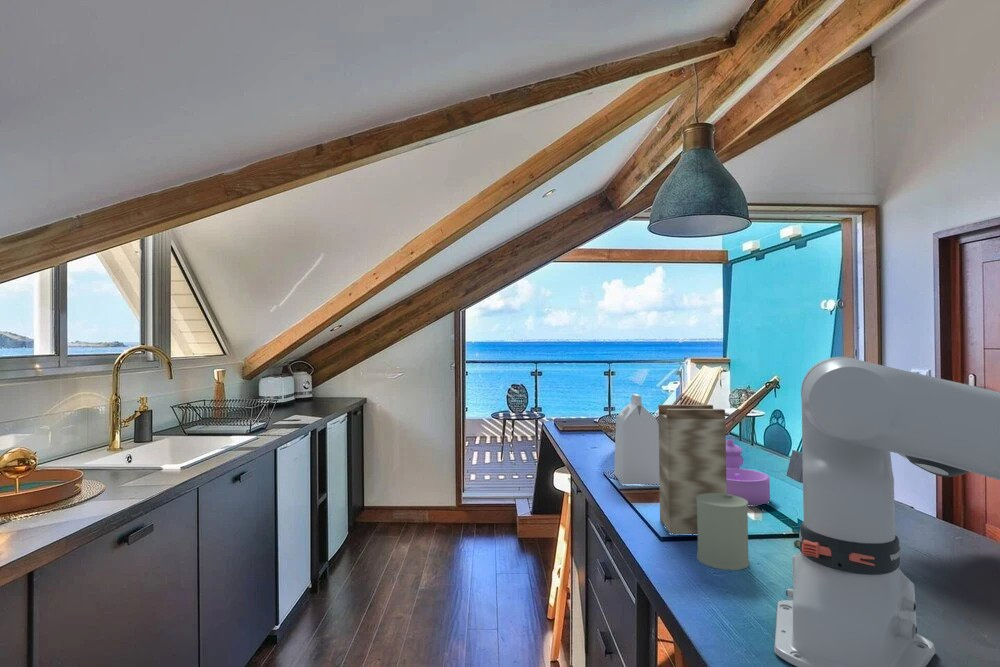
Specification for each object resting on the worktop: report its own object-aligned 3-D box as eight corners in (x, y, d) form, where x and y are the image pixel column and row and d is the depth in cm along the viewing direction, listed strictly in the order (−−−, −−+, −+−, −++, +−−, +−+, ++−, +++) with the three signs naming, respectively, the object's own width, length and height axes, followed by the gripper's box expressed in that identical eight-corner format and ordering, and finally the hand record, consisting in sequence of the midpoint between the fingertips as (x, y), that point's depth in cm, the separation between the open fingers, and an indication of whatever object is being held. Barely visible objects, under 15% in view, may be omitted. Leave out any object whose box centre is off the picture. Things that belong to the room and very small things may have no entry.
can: (756, 559, 101) (755, 496, 101) (739, 575, 94) (738, 507, 95) (708, 547, 107) (707, 487, 108) (688, 561, 101) (688, 497, 101)
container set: (776, 508, 133) (775, 456, 133) (710, 504, 137) (710, 453, 137) (756, 483, 157) (755, 438, 157) (701, 480, 161) (700, 436, 161)
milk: (662, 486, 154) (661, 396, 155) (622, 486, 155) (621, 396, 155) (651, 476, 166) (650, 393, 167) (614, 476, 167) (613, 393, 167)
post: (712, 521, 123) (710, 404, 124) (727, 536, 113) (725, 409, 114) (660, 520, 124) (658, 404, 125) (669, 535, 114) (667, 409, 115)
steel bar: (832, 387, 120) (809, 381, 120) (846, 389, 114) (823, 383, 114) (808, 481, 120) (786, 475, 120) (822, 488, 114) (798, 482, 114)
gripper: (905, 442, 106) (841, 407, 107) (848, 427, 126) (794, 398, 127) (921, 415, 106) (857, 380, 107) (861, 404, 126) (807, 375, 127)
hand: (822, 390), depth 117 cm, fingers closed on steel bar, 3 cm apart
